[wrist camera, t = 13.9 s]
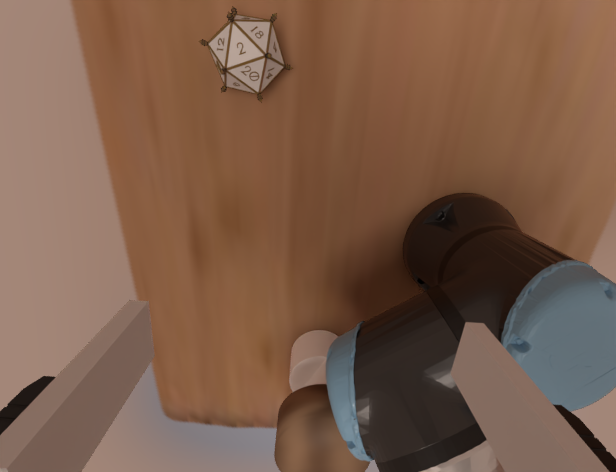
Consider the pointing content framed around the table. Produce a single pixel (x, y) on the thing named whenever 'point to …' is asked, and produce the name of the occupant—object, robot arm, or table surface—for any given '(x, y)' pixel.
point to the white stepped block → (310, 359)
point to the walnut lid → (312, 435)
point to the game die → (247, 53)
